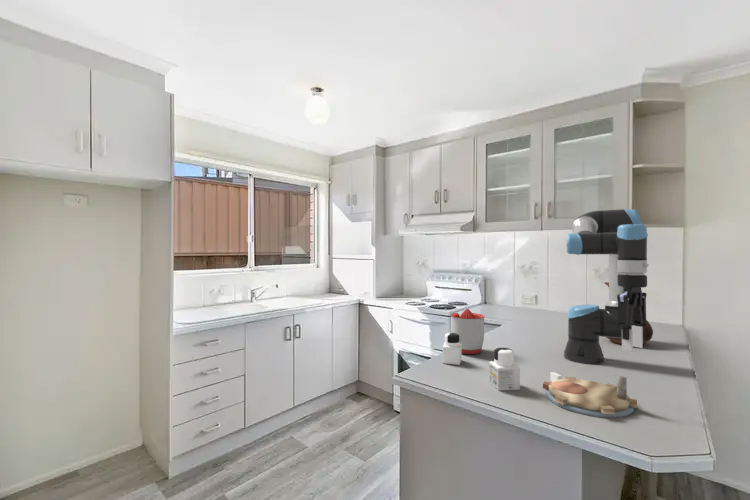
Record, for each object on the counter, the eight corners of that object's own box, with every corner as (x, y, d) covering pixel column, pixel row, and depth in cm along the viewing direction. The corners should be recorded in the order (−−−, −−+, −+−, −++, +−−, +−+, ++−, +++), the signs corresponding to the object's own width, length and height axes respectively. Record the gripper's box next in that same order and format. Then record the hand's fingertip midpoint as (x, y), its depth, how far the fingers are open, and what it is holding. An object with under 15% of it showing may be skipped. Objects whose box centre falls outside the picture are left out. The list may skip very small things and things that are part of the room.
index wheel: (637, 393, 116) (637, 369, 116) (636, 421, 97) (636, 392, 97) (550, 377, 131) (550, 355, 131) (535, 398, 112) (535, 373, 112)
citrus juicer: (477, 345, 179) (477, 305, 179) (489, 356, 161) (489, 311, 161) (446, 346, 178) (446, 305, 178) (455, 356, 161) (454, 311, 161)
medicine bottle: (461, 360, 155) (461, 332, 155) (459, 365, 148) (459, 336, 148) (444, 358, 157) (444, 331, 157) (442, 363, 151) (442, 334, 151)
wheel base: (521, 382, 129) (521, 374, 129) (582, 378, 133) (582, 370, 133) (580, 420, 100) (580, 409, 100) (655, 414, 104) (655, 404, 104)
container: (489, 382, 129) (488, 346, 129) (509, 381, 130) (509, 345, 130) (498, 390, 121) (498, 352, 121) (520, 390, 122) (520, 351, 122)
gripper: (631, 275, 104) (631, 356, 104) (659, 273, 113) (660, 346, 113) (603, 274, 110) (603, 350, 110) (632, 272, 120) (633, 341, 120)
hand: (632, 348), depth 112 cm, fingers open, 6 cm apart
